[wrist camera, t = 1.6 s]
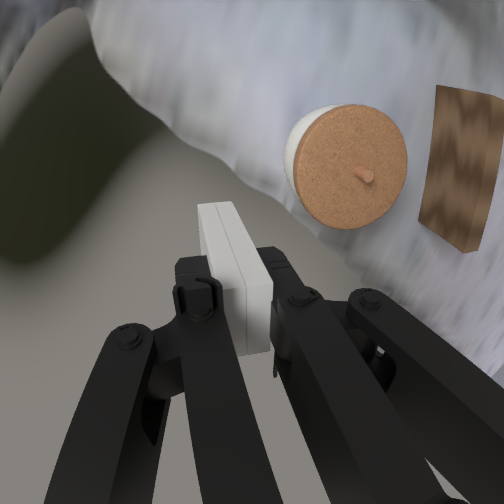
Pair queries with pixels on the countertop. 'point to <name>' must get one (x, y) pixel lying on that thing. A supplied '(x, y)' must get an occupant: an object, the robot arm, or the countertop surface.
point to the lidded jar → (345, 164)
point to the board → (462, 165)
